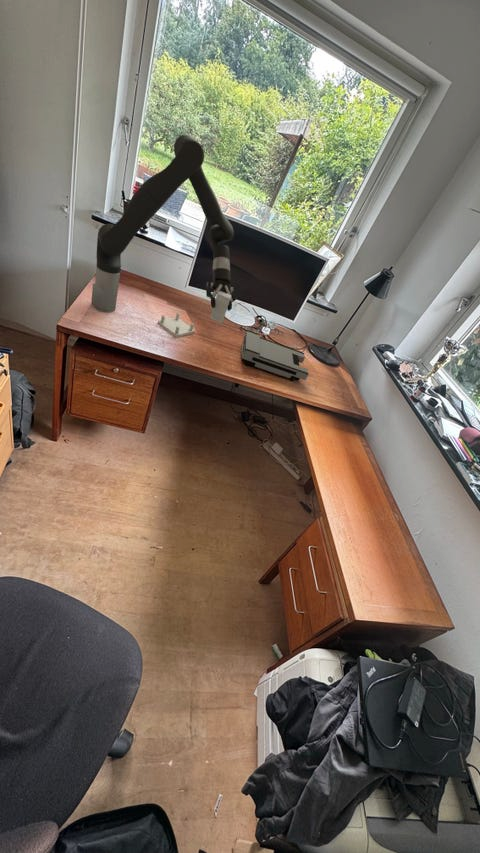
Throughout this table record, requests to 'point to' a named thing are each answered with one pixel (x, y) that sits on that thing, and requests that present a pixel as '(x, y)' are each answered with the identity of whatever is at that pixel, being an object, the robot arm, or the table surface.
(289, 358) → the grey slotted box
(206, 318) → the table surface
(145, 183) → the robot arm
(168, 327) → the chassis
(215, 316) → the skincare box
